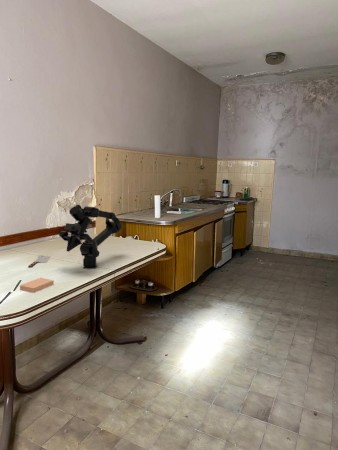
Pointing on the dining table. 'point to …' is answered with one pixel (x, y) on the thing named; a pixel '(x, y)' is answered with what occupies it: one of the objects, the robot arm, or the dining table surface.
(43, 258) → the kitchen cleaver
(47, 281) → the glazed tile
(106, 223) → the robot arm
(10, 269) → the dining table surface
